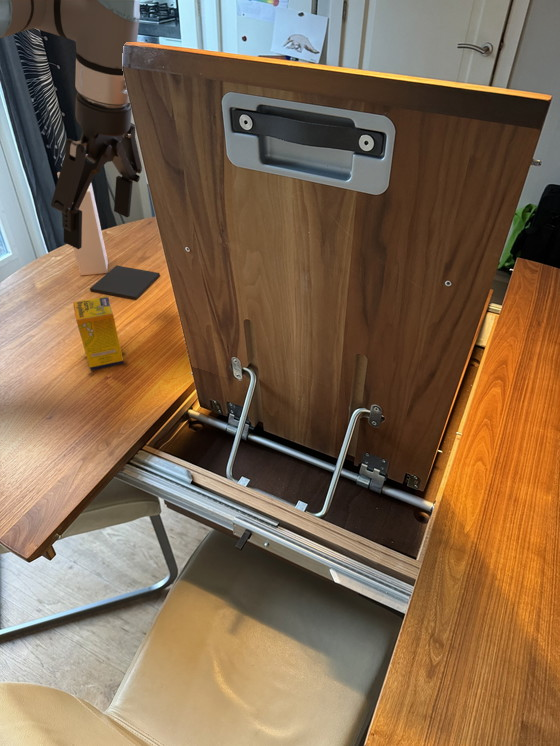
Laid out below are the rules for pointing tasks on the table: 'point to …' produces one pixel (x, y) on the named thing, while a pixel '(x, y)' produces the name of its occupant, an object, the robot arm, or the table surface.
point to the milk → (91, 239)
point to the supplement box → (98, 332)
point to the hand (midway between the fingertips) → (98, 228)
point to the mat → (125, 282)
